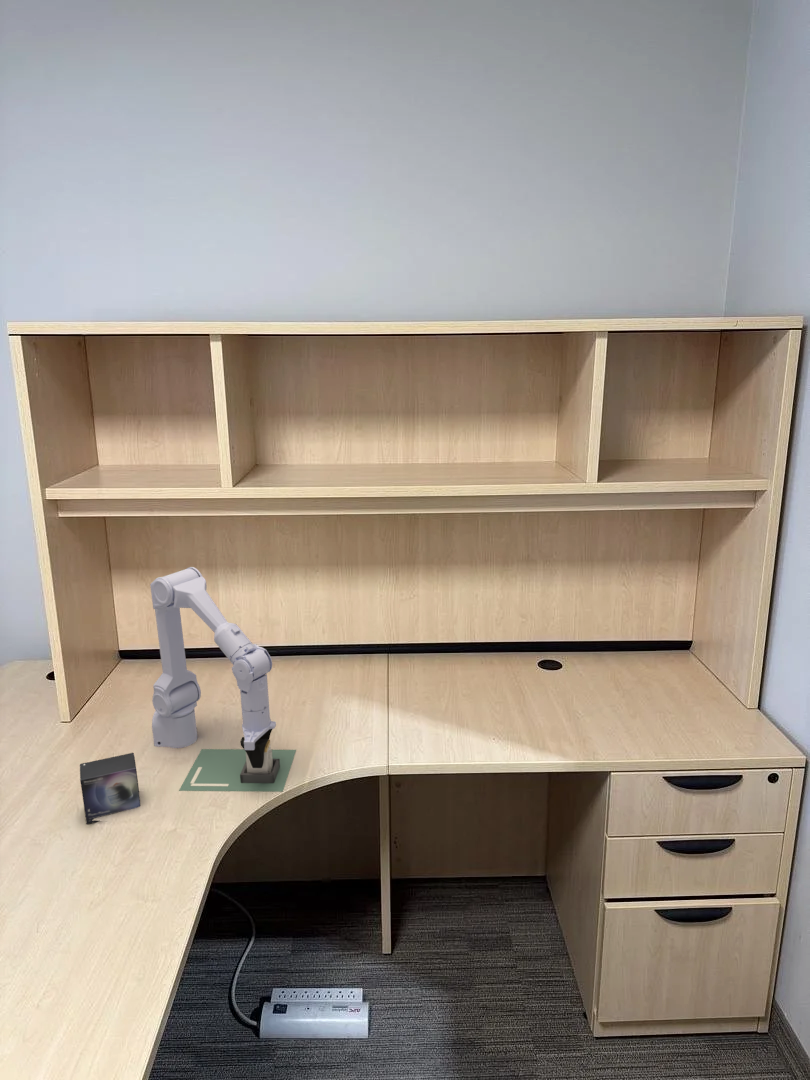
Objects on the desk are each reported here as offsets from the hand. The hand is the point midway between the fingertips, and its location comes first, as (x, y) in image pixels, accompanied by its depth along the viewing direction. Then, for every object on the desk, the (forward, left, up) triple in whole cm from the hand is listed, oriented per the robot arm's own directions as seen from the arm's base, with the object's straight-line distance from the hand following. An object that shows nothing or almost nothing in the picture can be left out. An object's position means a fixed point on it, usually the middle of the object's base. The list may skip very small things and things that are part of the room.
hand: (259, 761), depth 160 cm
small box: (-28, -11, -5) cm, 30 cm away
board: (-5, +2, -4) cm, 7 cm away
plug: (0, 0, -3) cm, 3 cm away
